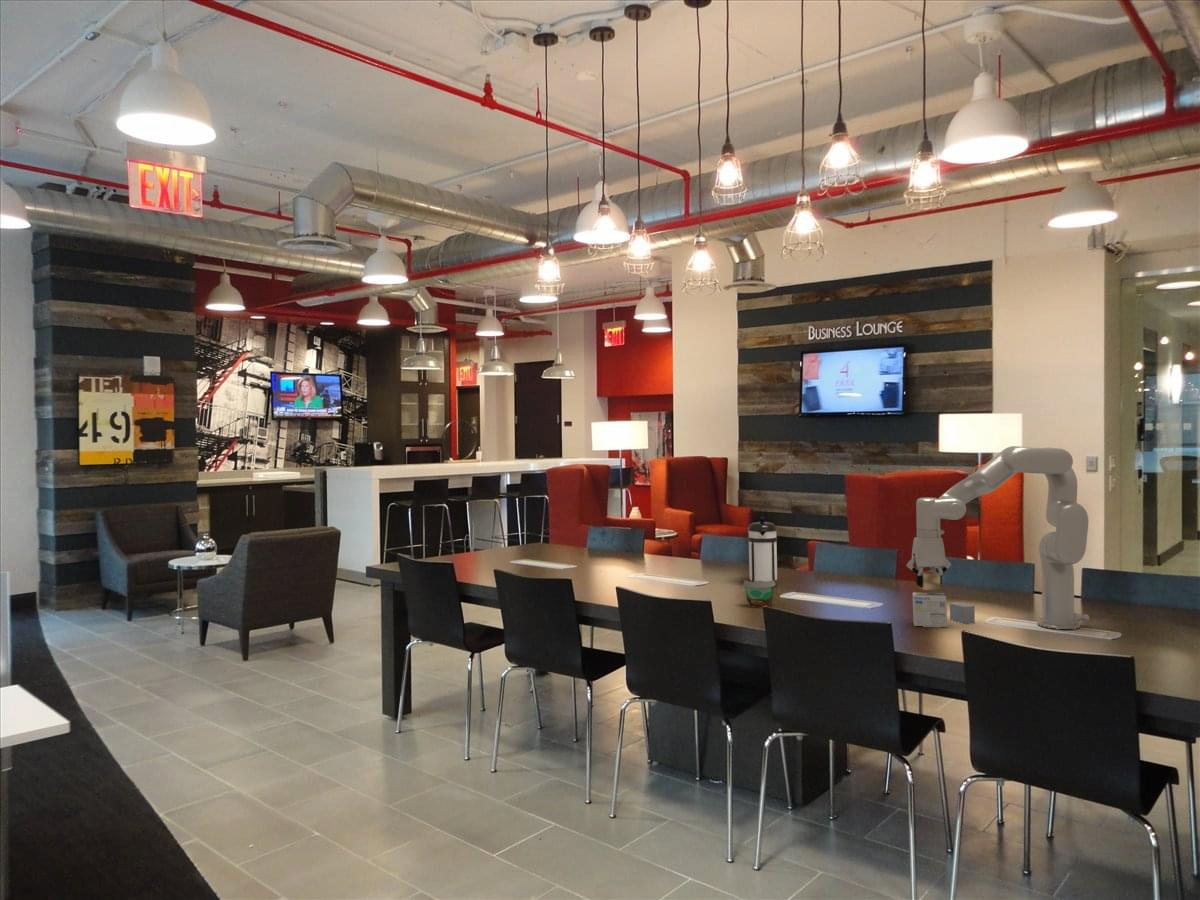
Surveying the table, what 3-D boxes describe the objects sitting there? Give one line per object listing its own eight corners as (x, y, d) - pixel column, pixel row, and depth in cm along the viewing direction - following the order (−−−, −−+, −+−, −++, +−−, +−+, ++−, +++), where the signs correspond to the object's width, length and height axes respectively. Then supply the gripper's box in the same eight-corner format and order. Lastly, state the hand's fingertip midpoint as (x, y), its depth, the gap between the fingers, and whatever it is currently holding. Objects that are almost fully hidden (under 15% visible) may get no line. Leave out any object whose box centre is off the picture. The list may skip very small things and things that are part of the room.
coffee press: (789, 584, 366) (788, 516, 366) (761, 588, 358) (760, 519, 358) (763, 579, 381) (761, 513, 381) (735, 583, 373) (734, 516, 373)
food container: (742, 607, 321) (742, 582, 321) (743, 604, 327) (743, 579, 327) (775, 608, 318) (774, 582, 318) (776, 605, 324) (775, 579, 324)
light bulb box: (945, 623, 288) (944, 592, 288) (947, 628, 282) (947, 596, 282) (912, 622, 291) (911, 591, 291) (914, 627, 285) (913, 595, 285)
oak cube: (933, 586, 289) (933, 570, 289) (940, 589, 284) (940, 573, 283) (918, 587, 289) (917, 571, 289) (924, 590, 283) (924, 573, 283)
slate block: (960, 619, 295) (960, 602, 295) (974, 623, 288) (974, 606, 288) (950, 620, 293) (949, 603, 293) (963, 624, 287) (963, 607, 287)
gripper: (948, 532, 290) (949, 584, 290) (899, 533, 289) (900, 585, 290) (958, 534, 282) (958, 588, 283) (907, 535, 282) (908, 589, 282)
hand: (929, 586), depth 286 cm, fingers closed on oak cube, 5 cm apart
